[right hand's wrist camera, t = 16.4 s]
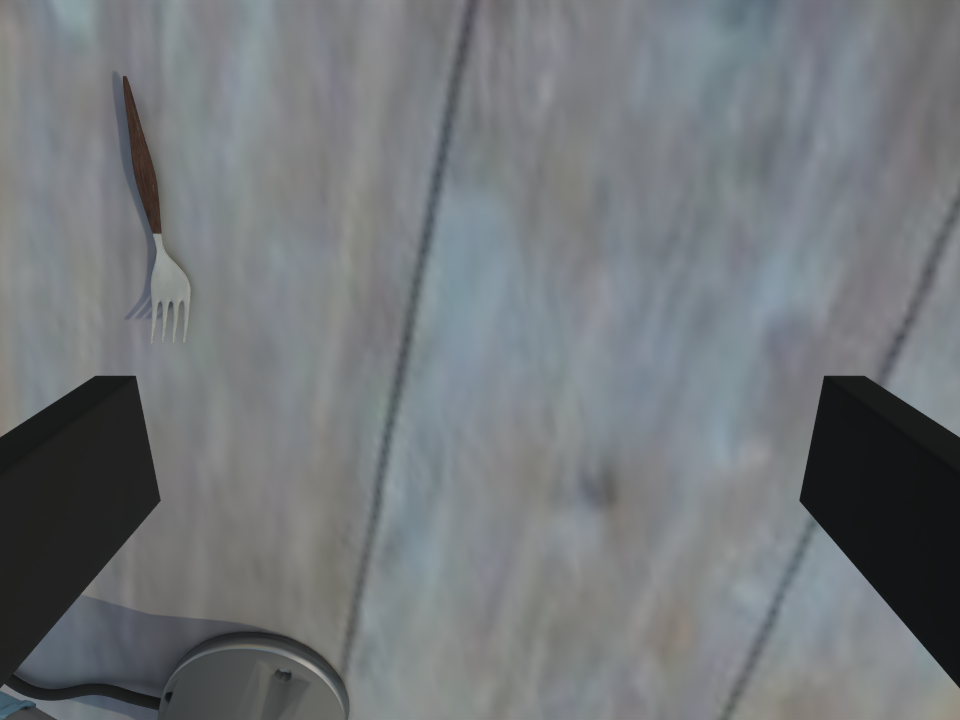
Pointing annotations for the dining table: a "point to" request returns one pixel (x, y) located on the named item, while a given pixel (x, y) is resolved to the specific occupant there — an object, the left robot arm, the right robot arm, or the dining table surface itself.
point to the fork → (155, 228)
